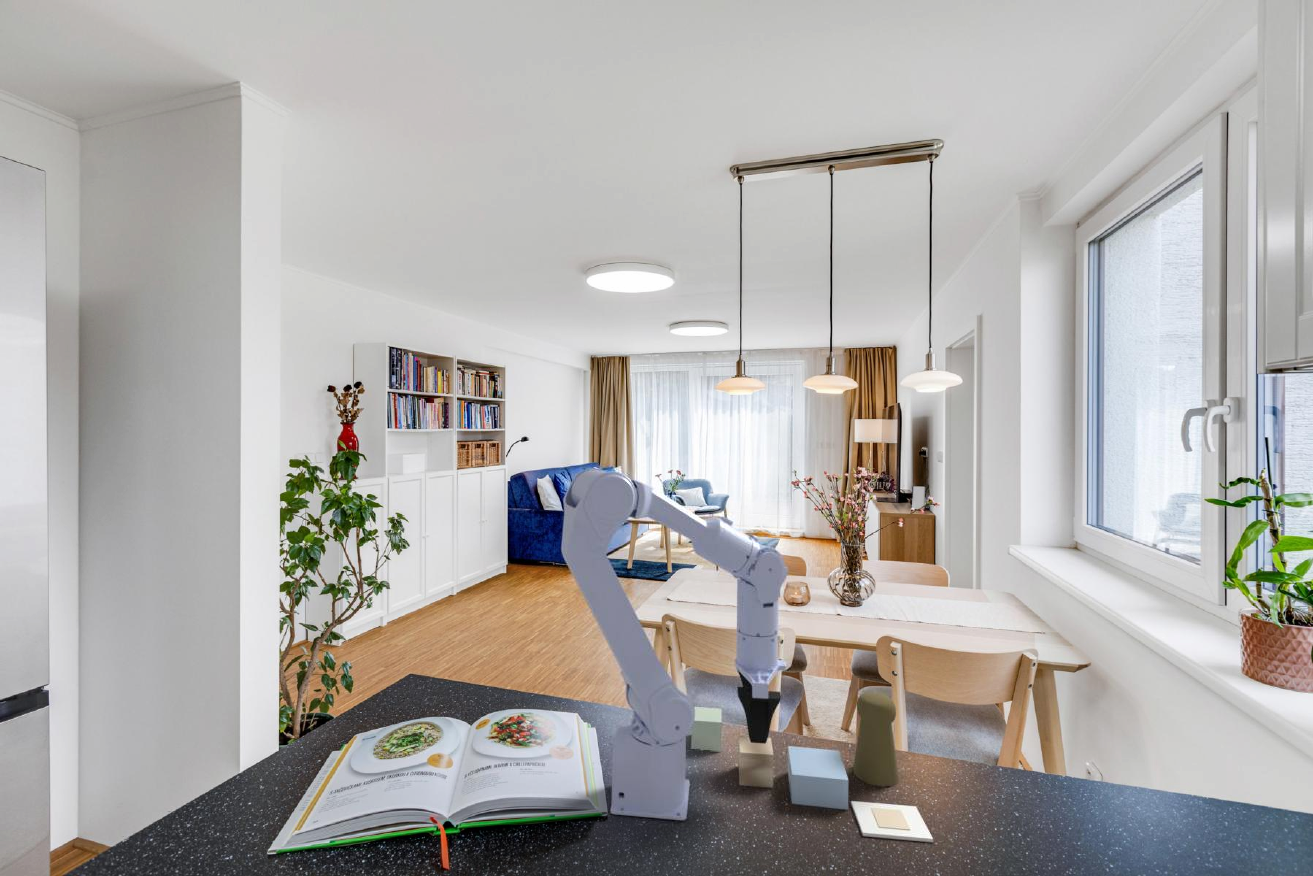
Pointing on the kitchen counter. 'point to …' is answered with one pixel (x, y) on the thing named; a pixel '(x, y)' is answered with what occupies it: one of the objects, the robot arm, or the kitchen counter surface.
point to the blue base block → (817, 777)
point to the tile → (891, 821)
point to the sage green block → (707, 729)
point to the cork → (876, 741)
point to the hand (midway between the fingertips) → (756, 727)
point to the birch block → (755, 763)
